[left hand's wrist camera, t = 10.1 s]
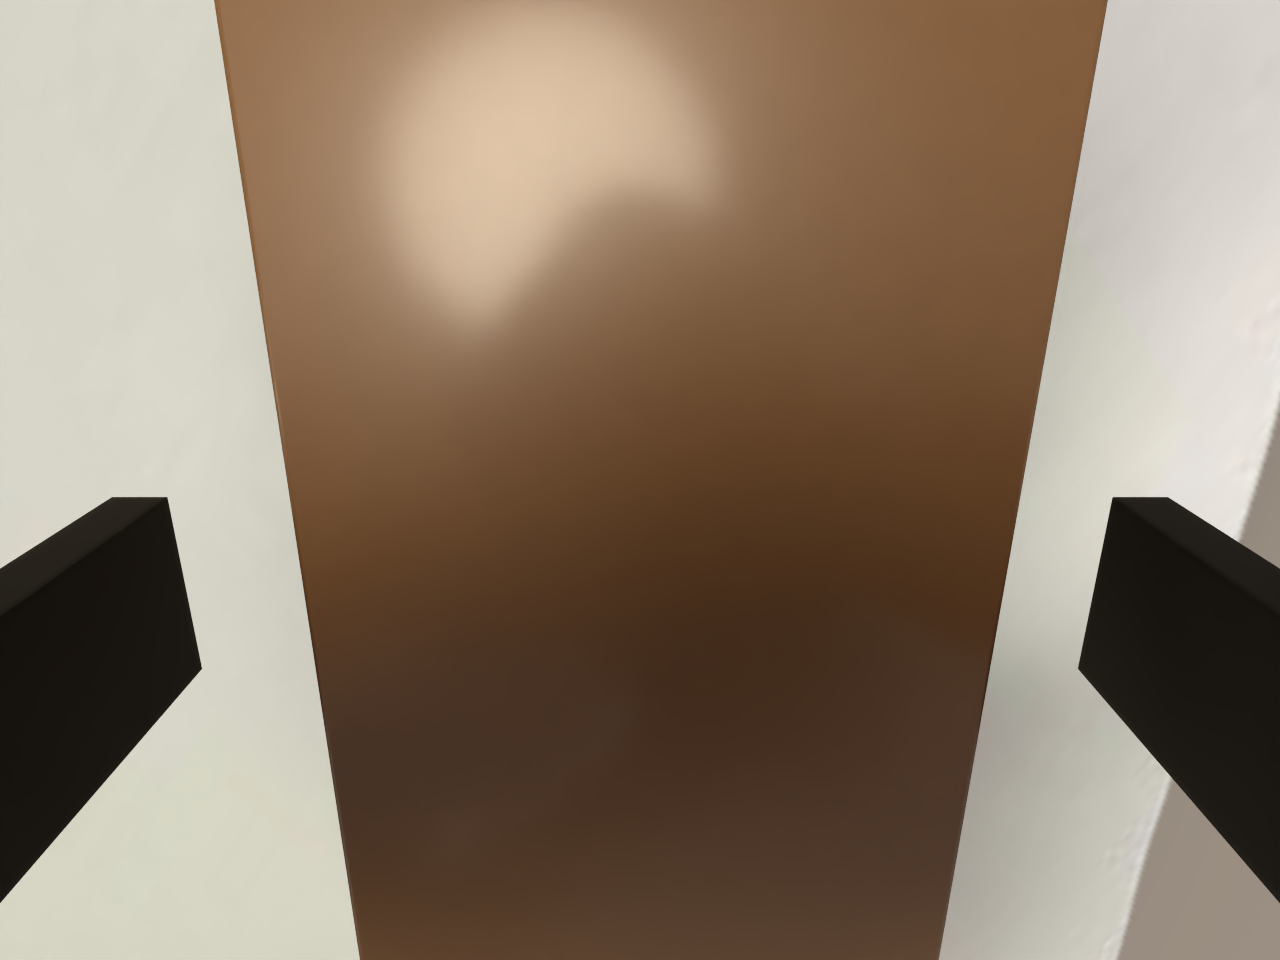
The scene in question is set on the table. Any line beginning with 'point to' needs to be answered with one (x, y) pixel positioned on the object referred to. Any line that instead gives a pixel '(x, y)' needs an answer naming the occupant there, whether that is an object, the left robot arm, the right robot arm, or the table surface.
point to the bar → (655, 445)
